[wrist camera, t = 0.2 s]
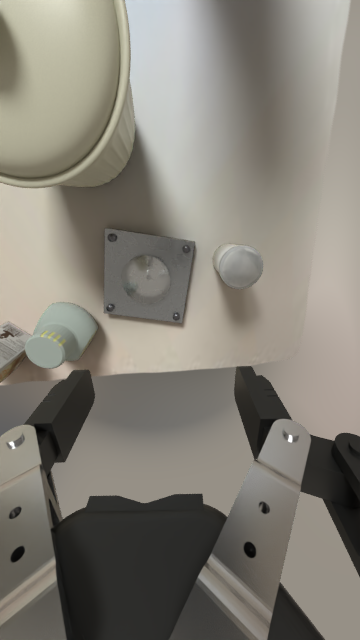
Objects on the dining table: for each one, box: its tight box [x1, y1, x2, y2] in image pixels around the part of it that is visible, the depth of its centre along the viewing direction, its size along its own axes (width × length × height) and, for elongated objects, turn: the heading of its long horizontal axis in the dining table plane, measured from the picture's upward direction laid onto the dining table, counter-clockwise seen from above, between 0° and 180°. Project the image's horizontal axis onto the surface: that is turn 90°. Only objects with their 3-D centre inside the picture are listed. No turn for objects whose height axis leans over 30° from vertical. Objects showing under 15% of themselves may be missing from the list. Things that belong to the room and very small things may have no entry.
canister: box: [0, 0, 135, 188], centre depth 21 cm, size 18×18×21 cm
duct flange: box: [104, 228, 195, 323], centre depth 37 cm, size 14×14×2 cm
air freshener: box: [25, 302, 98, 369], centre depth 37 cm, size 11×8×10 cm
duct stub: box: [213, 244, 263, 289], centre depth 33 cm, size 6×6×9 cm
